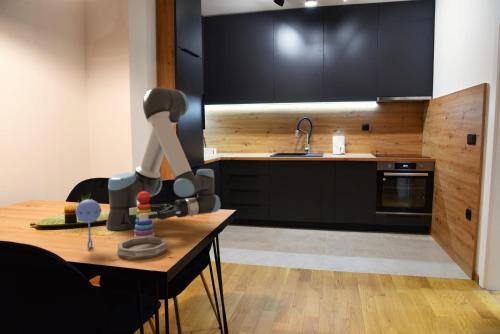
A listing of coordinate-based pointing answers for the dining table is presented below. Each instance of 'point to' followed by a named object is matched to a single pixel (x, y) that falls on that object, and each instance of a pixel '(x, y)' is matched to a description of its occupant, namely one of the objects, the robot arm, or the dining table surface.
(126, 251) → the plate
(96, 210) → the baby rattle
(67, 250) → the dining table surface
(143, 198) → the stacking toy
